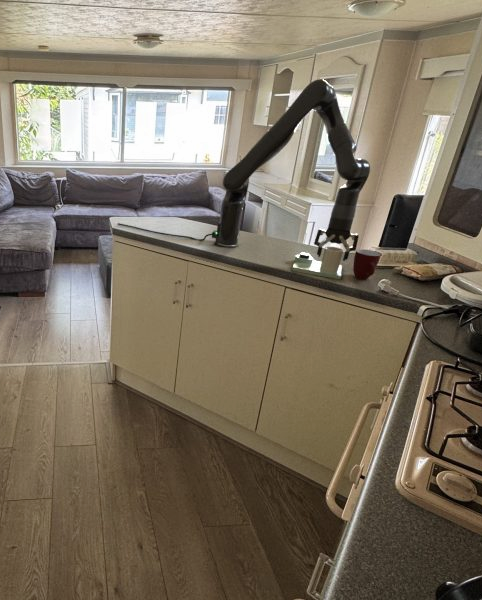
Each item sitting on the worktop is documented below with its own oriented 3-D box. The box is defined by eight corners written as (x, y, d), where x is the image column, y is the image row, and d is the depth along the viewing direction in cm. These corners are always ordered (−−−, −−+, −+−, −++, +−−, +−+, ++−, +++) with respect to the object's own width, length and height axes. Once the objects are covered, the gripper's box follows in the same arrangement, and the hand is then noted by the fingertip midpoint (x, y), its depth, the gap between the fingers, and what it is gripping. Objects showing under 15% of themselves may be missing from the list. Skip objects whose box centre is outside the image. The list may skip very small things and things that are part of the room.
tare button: (299, 258, 172) (300, 254, 171) (299, 256, 175) (300, 251, 174) (308, 260, 170) (309, 255, 170) (309, 257, 173) (310, 253, 173)
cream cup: (319, 269, 164) (324, 249, 161) (320, 265, 169) (325, 245, 166) (337, 272, 161) (343, 252, 158) (338, 268, 166) (343, 248, 163)
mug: (381, 284, 155) (390, 258, 151) (360, 284, 155) (368, 258, 151) (364, 274, 165) (372, 249, 161) (344, 274, 164) (351, 249, 160)
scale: (291, 270, 166) (292, 263, 165) (295, 260, 178) (296, 253, 176) (340, 279, 159) (342, 271, 158) (341, 268, 171) (343, 261, 169)
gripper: (364, 217, 157) (352, 259, 163) (321, 211, 163) (312, 252, 169) (364, 221, 151) (352, 264, 157) (320, 215, 157) (310, 257, 163)
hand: (331, 258), depth 163 cm, fingers open, 8 cm apart
